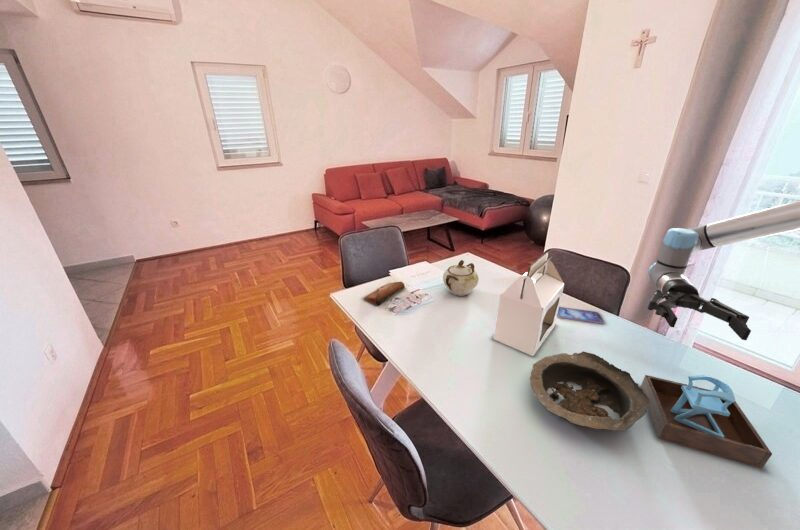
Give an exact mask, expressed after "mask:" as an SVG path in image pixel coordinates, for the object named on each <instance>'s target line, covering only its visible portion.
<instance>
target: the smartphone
mask: <svg viewBox="0 0 800 530" xmlns="http://www.w3.org/2000/svg"><path fill="white" fill-rule="evenodd" d="M557 318H560V319H566V320H574V321H581V322H587V323H595V324H604V319H603V318H602V316H601V314H600V313H599V312H597V311H591V310H583V309H577V308H569V307H562V306H561V307H560V306H559V310H558V314H557Z"/></svg>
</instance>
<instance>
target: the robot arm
mask: <svg viewBox="0 0 800 530" xmlns="http://www.w3.org/2000/svg"><path fill="white" fill-rule="evenodd" d="M798 230H800V200H796V201H792V202H788V203H785V204H781V205H776V206H773V207H768V208H765V209H761V210H757V211H754V212H750V213H746V214H741V215H739V216H734V217H730V218H727V219H723V220H720V221H716V222H711V223H708V224H705V225H700V226H698V227H695V226H694V227H693V226H692V227H689V228H682V227H677V228H676V227H673V228H670V229H668V230H667V232H666V234H665V236H664V237H663V240H662V245H661V247H660V251H659V254H658V255H657V256H658V257H657V259H656V261H655V262H653V264H651V265H650V266H649V268H648V276H649V279H650V281H651V282H652V283H653V284H654V286H655V287H656V288H657V289H656V290H655V292H654V295H653V297H652V298H651V299H650V300H649V303H648V305H647V310H648V311H654V310H655V313H654V314H655V315H656V316H660V317H661V318H664V320H665V321H666V323H667V324H668V326H669V327H670V328H675V326H676V323H677V321H678V316H677V315H676V314H675V312H674V311H673V310H672V309H676V308H684V309H689V310H693V311H697V312H698V313H701V314H706V315H709V316H711V317H714V318H716V319H719V320H720V321H723V322H724V323H725V322H726V324H727V323H728V324H727V326H728V327H729V328H730V329H731V330H732V331H733V332H734V333H735V334H736V335H737V336H738V337H739V338H740V339H741V340H742V341H747V340H748V338H749V336H750V334H751V332H752V330H751V329H750V328H749V326H748V324H747V323H748V321H749V319H750V316H749V315H747V314H744V312H741V311H739V310H737V309H735V308H732V307H731V306H729V305H727V304H725V303H722V302H721V301H720V300H718V299H717V298H714V297H711V298H710V300H708V299H705V298H703V297H701V296H700V293H699V290H698V289H697V288H696V287H695V285H694V284H692V282H691V281H690V280H689V279H688V278H687V277H686V276H685V273H686V271H687V268H688V265H689V263H690V260H691V257H692V256H693V255H694V254H695V253H697V252H701V251H703V250H709V249H713V248H717V247H722V246H728V245H731V244H735V243H736V244H737V243H741V242H746V241H750V240H755V239H761V238H765V237H769V236H773V235H779V234H785V233H788V232H793V231H798ZM664 299H665V300H664Z"/></svg>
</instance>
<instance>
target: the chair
mask: <svg viewBox="0 0 800 530" xmlns="http://www.w3.org/2000/svg"><path fill="white" fill-rule="evenodd" d="M687 378H688V383H687V386H684V385H682V387H681V389H682V390H683V394H682V395H681V397H680V398H679V400H678V401H677V402H676V404H675V405H674V406H673V407H672V409H671V410H670V411H671V412H672V413H675V414H680V415H677V416H675V418H674V420H675V421H678V422H680V423H683V424H685V425H688V426H690V427H693V428H695V429H697V430H699V431H702V432H704V433H707V434H711V435H714V436H718V437H722V438H724V435H723V433H722V432H721V430H720V428H719V427H718V425H717V424H716V422H715V420H714V419H713V417H712V415H711V414H710V413H714V414H720V415H724V416H728V417H729V415H730V413H729V411H728V410H727V407H728V406H729V405H730V404H732V403H733V402H735V401H736V398H735V394H734V391H733V389H732V388H731V386H729V385H728V383H726V382H724V381H722V380H720V379H718V378H716V377H713V376H710V375H706V374H699V375H688V376H687ZM699 380H700V381H707V382H709V383H712V384H713V385H715V386H714V387H713V389H711V390H712V391H705V390H700V389H696V388H692V386H694V383H693V382H694V381H699ZM719 389H720V390H721V391H720V390H719ZM720 399H723V400H725V401H727V402H725V403H722V401H721V400H720ZM687 401H689V403H690V405H691V407H692V408H693V409H681V408H682V406H683V405H684V404H685V403H686V402H687ZM697 414H703V415H706V416H707V418H708V419H709V421H710V423H711V424H712V426H713V428H714V429H715V431H716V432H714V431H712V430H710V429H707V428H705V427H703V426H701V425H698V424H696V423H694V422H692V421H690V420H687V419H685V418H688V417H691V416H694V415H697Z"/></svg>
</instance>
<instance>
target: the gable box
mask: <svg viewBox="0 0 800 530" xmlns="http://www.w3.org/2000/svg"><path fill="white" fill-rule="evenodd" d="M552 258H553V255H551V256H550V257H549V252H548V251H546V252H545V253H543V254H542V255H541V256H540V257H538V258H537V259H536V260H535V261H533V262H532V264H530V265H529V266H528V270H527V271H526V272H524V274H522V275H521V276H519V277H518V278H517V279H515V281H514V282H513V283H512V284H510V286H508V287H507V288H506V289H505V290H504V291H502V292H501V293H500V294H499V299H498V307H497V313H496V318H495V319H496V320H495V325H494V333H493V340H495V341H497V342H499V343H501V344H503V345H506V346H509V347H510V348H513V349H515V350H518V351H520V352H522V353H524V354H527V355H529V356H531V357H534V356H535V354H536V353H537V352H538V350H539V349H540V347H541V346H542V344H543V343H544V342H545V341H546V339H547V337H548V336H549V334H550V333H551V332H552V331H553V329H554V327H555V326H556V323H557V318H558V310H559V307H560V304H561V300H562V296H563V292H564V289H565V283H564V281H563V279H562V277H561V275H560V273H559V271H558V269H557V267H556V265H555V264H554V262H553V260H551V259H552ZM543 323H546V324H549V325H550V326H549V327H547V328H546V330H545V331H544V333H543V335H542V330H543Z"/></svg>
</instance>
